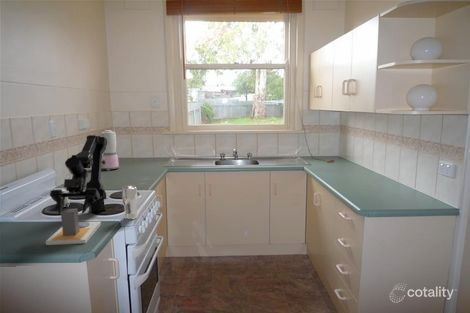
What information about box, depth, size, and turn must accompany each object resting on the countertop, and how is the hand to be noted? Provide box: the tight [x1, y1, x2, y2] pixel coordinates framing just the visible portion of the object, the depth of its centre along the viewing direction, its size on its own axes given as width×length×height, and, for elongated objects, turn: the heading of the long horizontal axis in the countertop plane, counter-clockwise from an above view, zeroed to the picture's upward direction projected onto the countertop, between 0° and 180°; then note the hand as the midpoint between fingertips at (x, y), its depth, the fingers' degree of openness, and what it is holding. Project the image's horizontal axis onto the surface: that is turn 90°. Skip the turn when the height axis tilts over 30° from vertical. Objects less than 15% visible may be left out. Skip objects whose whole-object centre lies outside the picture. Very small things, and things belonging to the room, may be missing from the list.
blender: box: [98, 129, 120, 172], centre depth 269 cm, size 16×12×32 cm
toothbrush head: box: [62, 190, 71, 208], centre depth 185 cm, size 5×7×25 cm
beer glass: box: [121, 185, 138, 221], centre depth 159 cm, size 7×7×15 cm
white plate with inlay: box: [45, 221, 102, 246], centre depth 140 cm, size 20×15×2 cm
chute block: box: [60, 208, 80, 236], centre depth 136 cm, size 4×5×10 cm
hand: (71, 213), depth 137 cm, fingers open, 9 cm apart
